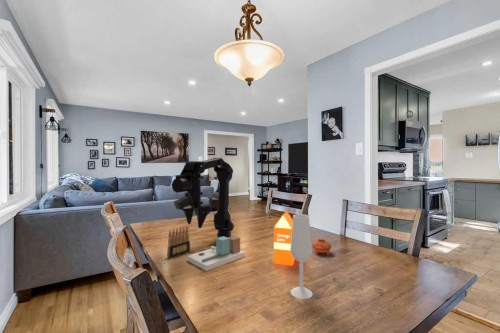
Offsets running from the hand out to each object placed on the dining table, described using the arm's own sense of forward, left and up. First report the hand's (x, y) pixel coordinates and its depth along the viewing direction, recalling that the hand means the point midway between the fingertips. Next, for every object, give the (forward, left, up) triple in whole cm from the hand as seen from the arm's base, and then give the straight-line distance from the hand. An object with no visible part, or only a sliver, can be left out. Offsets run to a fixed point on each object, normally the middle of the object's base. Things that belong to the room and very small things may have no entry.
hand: (194, 225), depth 103 cm
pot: (-43, +37, -14) cm, 58 cm away
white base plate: (-6, +8, -14) cm, 17 cm away
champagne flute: (-8, +49, -14) cm, 51 cm away
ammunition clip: (+3, -8, -14) cm, 16 cm away
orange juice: (-25, +30, -14) cm, 41 cm away
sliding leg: (-7, +8, -11) cm, 15 cm away
